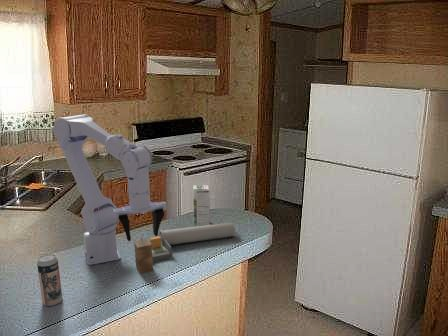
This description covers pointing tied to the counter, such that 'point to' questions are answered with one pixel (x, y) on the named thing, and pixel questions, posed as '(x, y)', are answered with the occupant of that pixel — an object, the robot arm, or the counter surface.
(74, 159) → the robot arm
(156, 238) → the switch knob
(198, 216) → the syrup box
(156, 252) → the grey open tray
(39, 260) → the beer can
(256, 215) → the counter surface
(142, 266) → the walnut peg
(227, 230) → the tube
